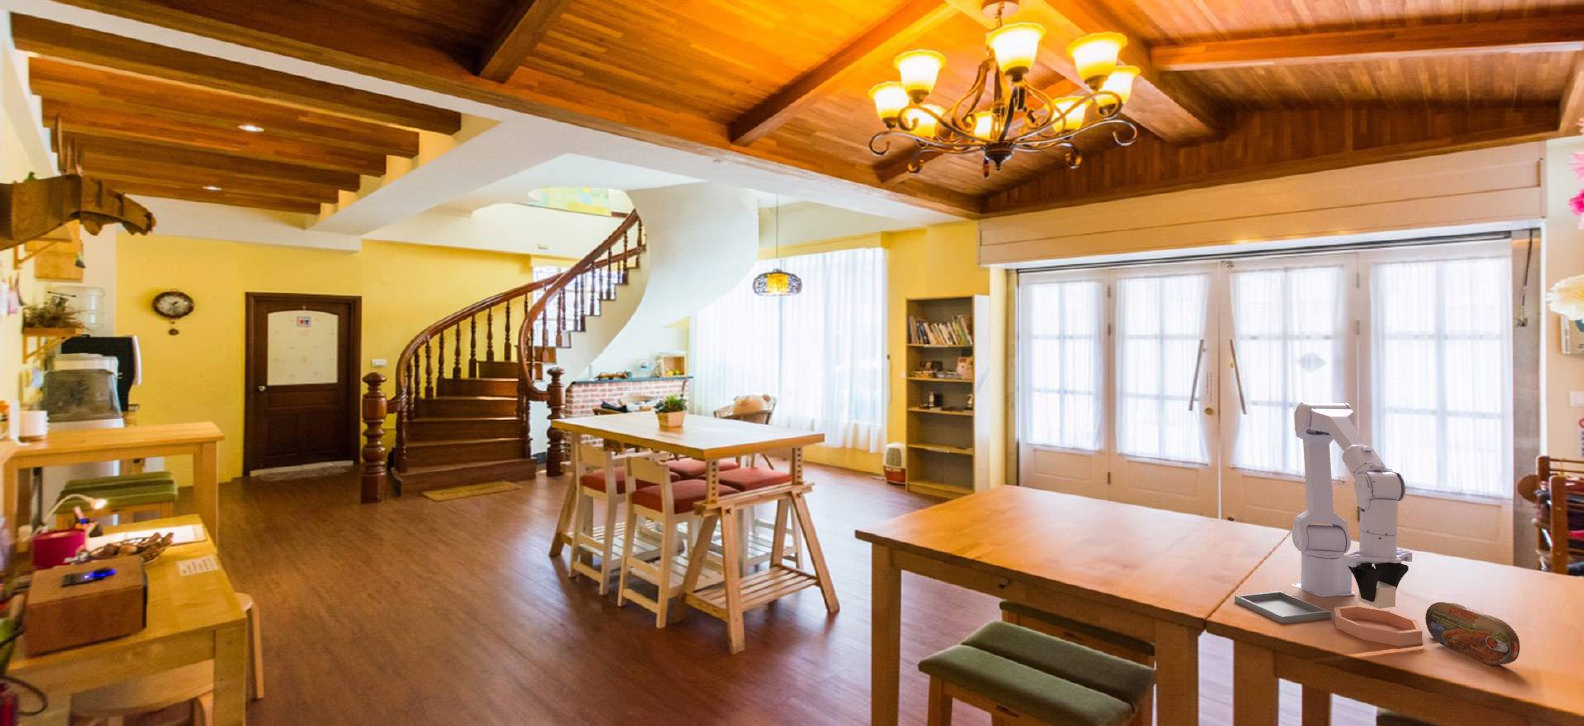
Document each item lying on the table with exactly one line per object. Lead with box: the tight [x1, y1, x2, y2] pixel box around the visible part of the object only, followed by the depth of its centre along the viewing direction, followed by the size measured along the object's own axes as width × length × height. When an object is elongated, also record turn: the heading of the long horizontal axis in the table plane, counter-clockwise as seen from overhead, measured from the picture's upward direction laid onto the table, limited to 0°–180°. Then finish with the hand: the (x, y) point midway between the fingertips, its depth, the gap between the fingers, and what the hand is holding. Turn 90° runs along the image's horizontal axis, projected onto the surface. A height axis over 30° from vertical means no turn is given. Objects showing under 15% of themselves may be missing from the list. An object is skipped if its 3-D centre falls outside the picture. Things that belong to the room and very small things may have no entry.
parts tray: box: [1234, 590, 1332, 625], centre depth 151 cm, size 12×12×2 cm
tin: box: [1424, 601, 1521, 666], centre depth 131 cm, size 15×3×8 cm, turn 5°
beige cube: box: [1358, 581, 1397, 609], centre depth 140 cm, size 4×4×4 cm
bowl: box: [1333, 604, 1423, 650], centre depth 140 cm, size 13×13×3 cm
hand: (1376, 598), depth 140 cm, fingers closed on beige cube, 4 cm apart
